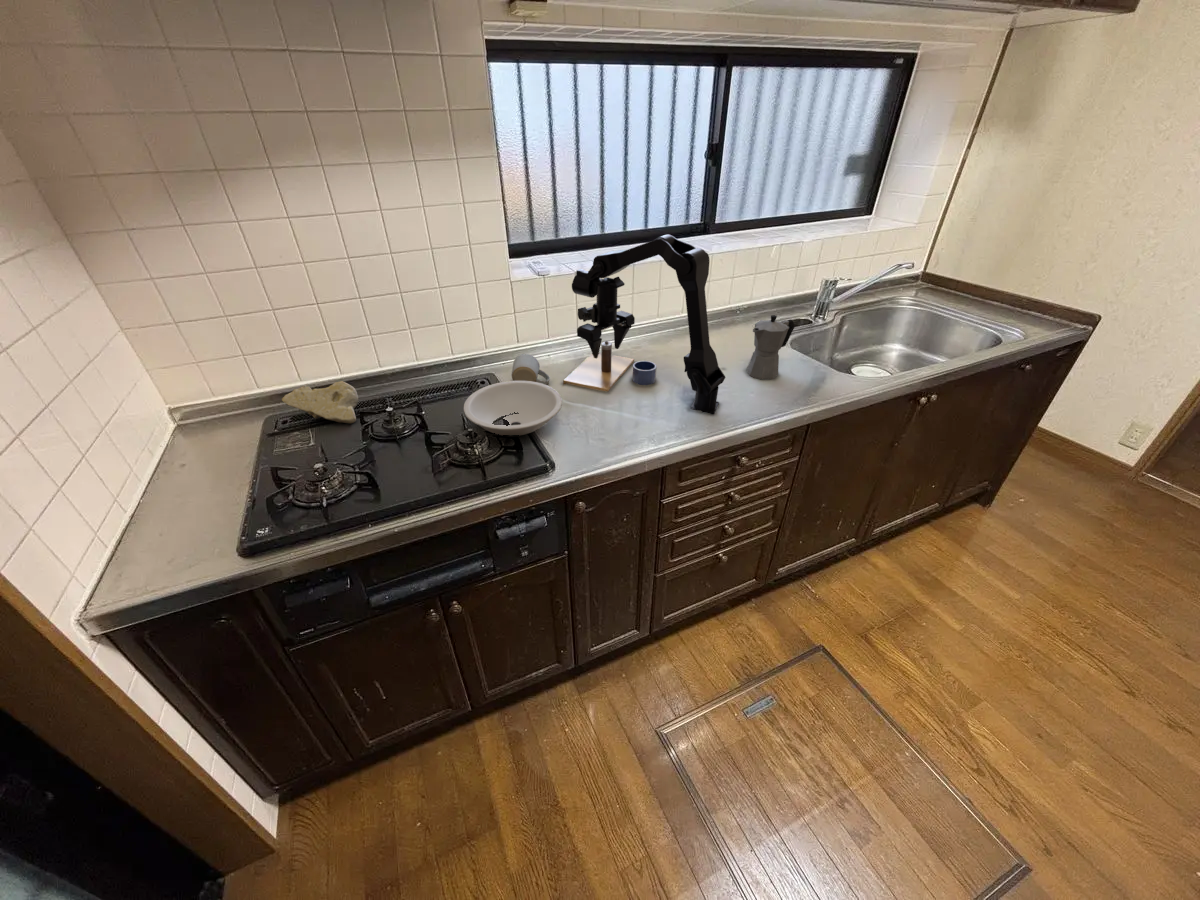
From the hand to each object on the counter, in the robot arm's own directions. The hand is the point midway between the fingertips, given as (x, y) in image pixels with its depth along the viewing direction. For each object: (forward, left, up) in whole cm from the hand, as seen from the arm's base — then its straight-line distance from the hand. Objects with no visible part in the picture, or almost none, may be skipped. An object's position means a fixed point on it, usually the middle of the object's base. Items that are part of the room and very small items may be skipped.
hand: (606, 353), depth 147 cm
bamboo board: (0, +2, -7) cm, 7 cm away
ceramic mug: (-14, +18, -7) cm, 24 cm away
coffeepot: (+20, -44, -7) cm, 49 cm away
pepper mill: (0, 0, -6) cm, 6 cm away
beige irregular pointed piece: (-53, +56, -7) cm, 77 cm away
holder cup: (0, -12, -7) cm, 14 cm away
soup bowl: (-36, +10, -7) cm, 38 cm away
